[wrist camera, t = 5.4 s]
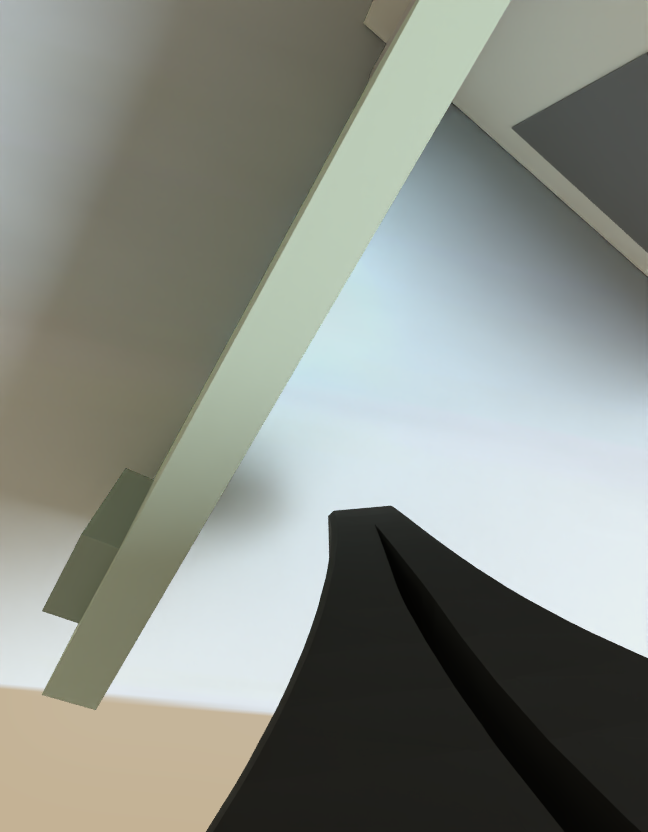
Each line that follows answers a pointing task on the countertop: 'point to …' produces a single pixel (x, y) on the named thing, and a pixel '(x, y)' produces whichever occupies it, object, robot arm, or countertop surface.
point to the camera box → (566, 104)
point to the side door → (262, 346)
